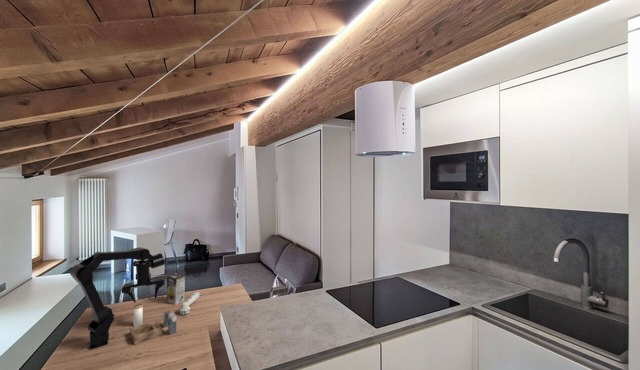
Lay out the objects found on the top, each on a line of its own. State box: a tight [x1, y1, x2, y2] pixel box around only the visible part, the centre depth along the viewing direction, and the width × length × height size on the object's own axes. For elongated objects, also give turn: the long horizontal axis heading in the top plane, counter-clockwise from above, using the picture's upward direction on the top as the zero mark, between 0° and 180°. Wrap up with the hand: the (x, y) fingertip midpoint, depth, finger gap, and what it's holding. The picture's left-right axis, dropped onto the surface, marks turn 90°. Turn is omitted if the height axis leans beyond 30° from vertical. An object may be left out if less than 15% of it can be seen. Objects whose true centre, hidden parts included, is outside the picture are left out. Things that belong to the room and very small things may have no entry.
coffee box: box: [166, 273, 186, 306], centre depth 174 cm, size 9×6×16 cm
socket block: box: [129, 320, 163, 346], centre depth 137 cm, size 12×12×3 cm
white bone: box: [179, 291, 201, 316], centre depth 169 cm, size 5×7×25 cm
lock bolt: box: [169, 311, 178, 322], centre depth 138 cm, size 2×6×2 cm, turn 43°
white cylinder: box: [133, 303, 144, 327], centre depth 146 cm, size 4×4×10 cm
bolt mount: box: [162, 310, 177, 336], centre depth 142 cm, size 3×12×7 cm, turn 43°
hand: (145, 300), depth 146 cm, fingers open, 9 cm apart
